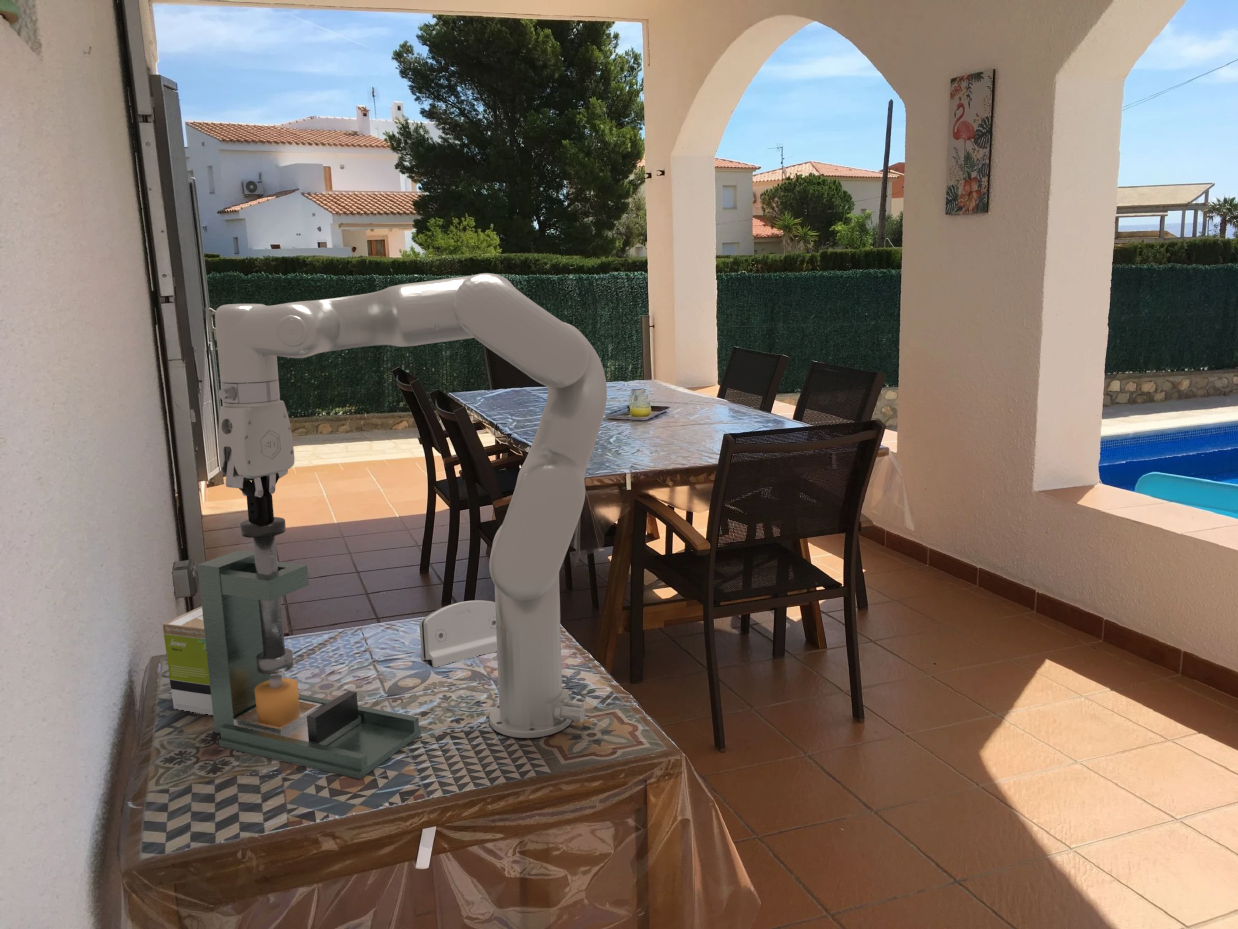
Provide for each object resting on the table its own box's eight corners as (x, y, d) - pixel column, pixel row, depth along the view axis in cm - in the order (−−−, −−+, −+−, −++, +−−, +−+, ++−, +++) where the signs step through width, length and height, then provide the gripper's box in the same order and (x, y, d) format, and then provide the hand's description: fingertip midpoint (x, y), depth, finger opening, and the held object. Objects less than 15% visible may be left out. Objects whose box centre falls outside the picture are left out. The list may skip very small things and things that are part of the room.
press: (421, 734, 140) (411, 564, 135) (360, 779, 128) (346, 594, 123) (268, 702, 152) (254, 545, 147) (198, 741, 139) (180, 570, 134)
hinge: (432, 668, 164) (421, 611, 165) (422, 669, 168) (411, 613, 169) (517, 646, 174) (506, 592, 174) (506, 647, 177) (495, 594, 178)
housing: (308, 711, 143) (305, 671, 142) (282, 729, 138) (279, 687, 137) (275, 707, 145) (271, 666, 144) (248, 724, 140) (244, 682, 138)
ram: (305, 662, 141) (294, 519, 137) (276, 678, 136) (263, 529, 132) (274, 657, 144) (261, 515, 140) (244, 672, 138) (230, 525, 134)
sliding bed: (361, 722, 142) (358, 690, 141) (315, 752, 133) (312, 719, 132) (280, 705, 148) (277, 675, 147) (231, 733, 139) (228, 701, 138)
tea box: (237, 673, 163) (229, 591, 161) (286, 680, 160) (279, 596, 157) (170, 710, 149) (160, 621, 147) (222, 719, 146) (212, 628, 143)
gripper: (230, 401, 124) (242, 537, 127) (309, 389, 138) (318, 512, 141) (187, 399, 127) (200, 532, 130) (269, 387, 140) (278, 508, 144)
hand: (261, 521), depth 136 cm, fingers closed
